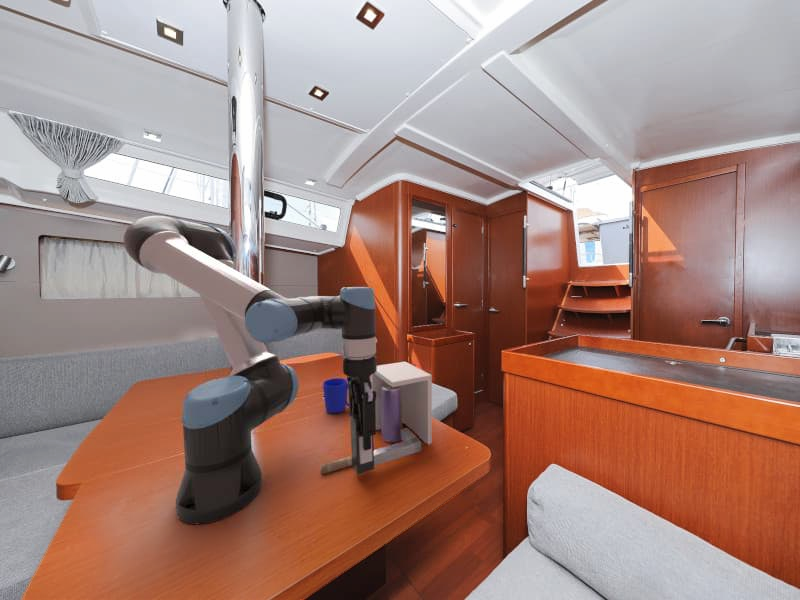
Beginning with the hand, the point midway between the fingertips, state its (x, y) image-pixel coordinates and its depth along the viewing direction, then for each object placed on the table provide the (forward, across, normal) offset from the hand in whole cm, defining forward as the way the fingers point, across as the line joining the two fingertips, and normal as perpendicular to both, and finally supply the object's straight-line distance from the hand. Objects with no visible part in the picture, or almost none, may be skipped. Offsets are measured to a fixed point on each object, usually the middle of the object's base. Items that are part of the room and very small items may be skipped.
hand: (362, 455), depth 65 cm
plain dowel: (+4, +6, +2) cm, 8 cm away
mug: (+4, +35, -4) cm, 36 cm away
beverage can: (+5, +11, -12) cm, 17 cm away
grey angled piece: (+3, +2, -7) cm, 7 cm away
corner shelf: (+5, +11, -15) cm, 19 cm away
